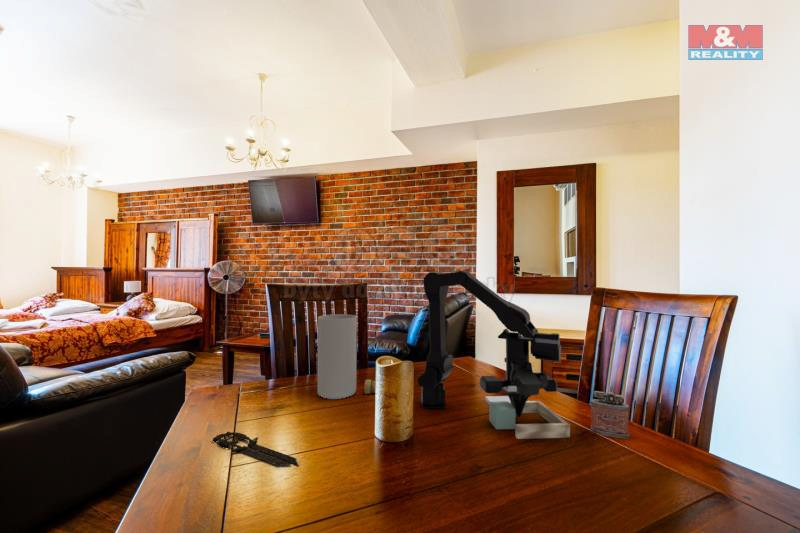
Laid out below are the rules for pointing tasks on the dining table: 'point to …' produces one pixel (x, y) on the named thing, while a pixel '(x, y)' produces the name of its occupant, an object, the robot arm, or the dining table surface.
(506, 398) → the ceramic tile
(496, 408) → the cube
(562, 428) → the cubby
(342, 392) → the cylinder vase
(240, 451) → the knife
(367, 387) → the gavel
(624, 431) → the lighter
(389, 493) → the dining table surface
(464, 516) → the dining table surface
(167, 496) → the dining table surface
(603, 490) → the dining table surface
